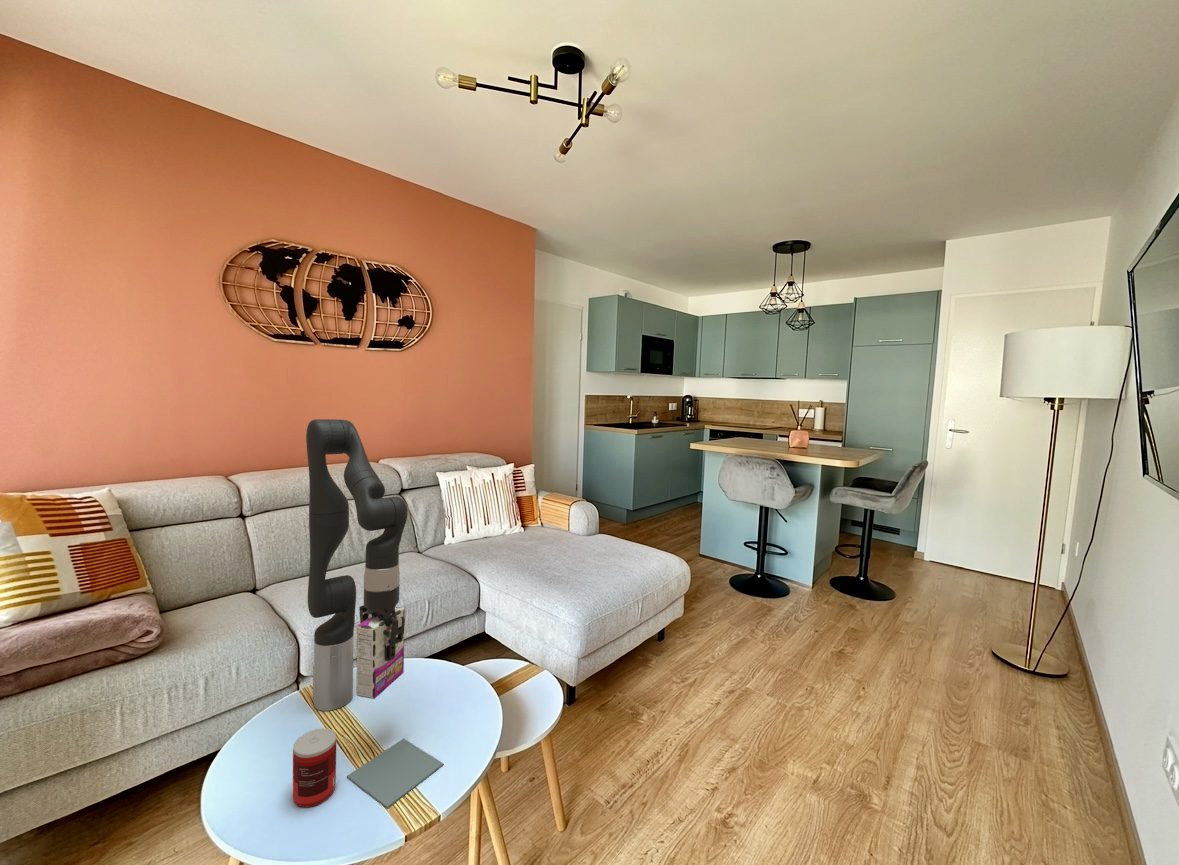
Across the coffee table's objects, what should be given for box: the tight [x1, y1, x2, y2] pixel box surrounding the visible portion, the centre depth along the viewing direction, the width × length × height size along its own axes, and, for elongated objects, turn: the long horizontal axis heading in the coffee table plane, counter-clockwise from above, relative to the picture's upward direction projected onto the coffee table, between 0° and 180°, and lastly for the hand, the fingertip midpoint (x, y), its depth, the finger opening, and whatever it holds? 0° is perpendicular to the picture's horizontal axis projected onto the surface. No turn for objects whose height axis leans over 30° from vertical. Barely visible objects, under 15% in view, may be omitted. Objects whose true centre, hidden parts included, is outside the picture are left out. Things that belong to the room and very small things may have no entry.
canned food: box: [292, 727, 337, 808], centre depth 96 cm, size 8×8×11 cm
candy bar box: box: [355, 606, 405, 700], centre depth 110 cm, size 11×5×16 cm, turn 167°
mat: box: [346, 738, 444, 809], centre depth 103 cm, size 14×14×1 cm
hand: (381, 654), depth 110 cm, fingers closed on candy bar box, 6 cm apart
